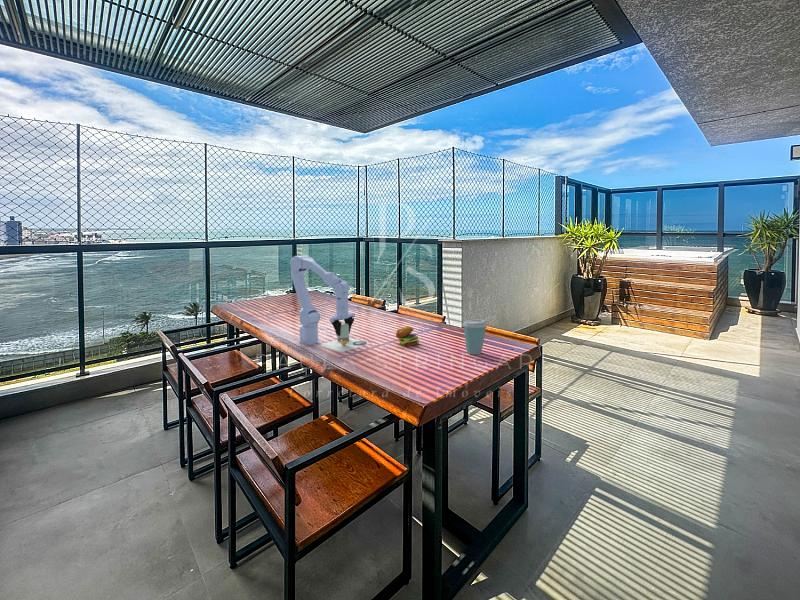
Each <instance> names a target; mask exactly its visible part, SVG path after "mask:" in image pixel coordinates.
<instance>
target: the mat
mask: <svg viewBox="0 0 800 600" xmlns="http://www.w3.org/2000/svg"><path fill="white" fill-rule="evenodd" d="M356 341H362V340H361V339H355V338H351V337H349V341H347V343H346V345H342V344H341V342H340V341H338V339H336V340H331V341H328V342H325V343H322V344H318V345H317V346H318V347H321V348H325V349H326V348H327V349H328V350H329V349H330V350H332V351H336V352H339V353H345V352H348V351H351V350H353V349H358V348H361V347H363V346H367V345H369V344H371V342H369V341H366V342H367V344H365V345H353V342H356Z"/></svg>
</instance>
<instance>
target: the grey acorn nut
mask: <svg viewBox="0 0 800 600" xmlns="http://www.w3.org/2000/svg"><path fill="white" fill-rule="evenodd" d="M349 338H350V336H349V337H347V338H338V337H337V340H338V341H340V342H341V340H342V339H345V340H346V341H349Z"/></svg>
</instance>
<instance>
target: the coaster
mask: <svg viewBox="0 0 800 600" xmlns="http://www.w3.org/2000/svg"><path fill="white" fill-rule="evenodd" d="M367 342H368V341H365V340H361V341H356V342H353V345H364V346H366V345H365V344H367ZM367 345H368V344H367Z"/></svg>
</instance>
